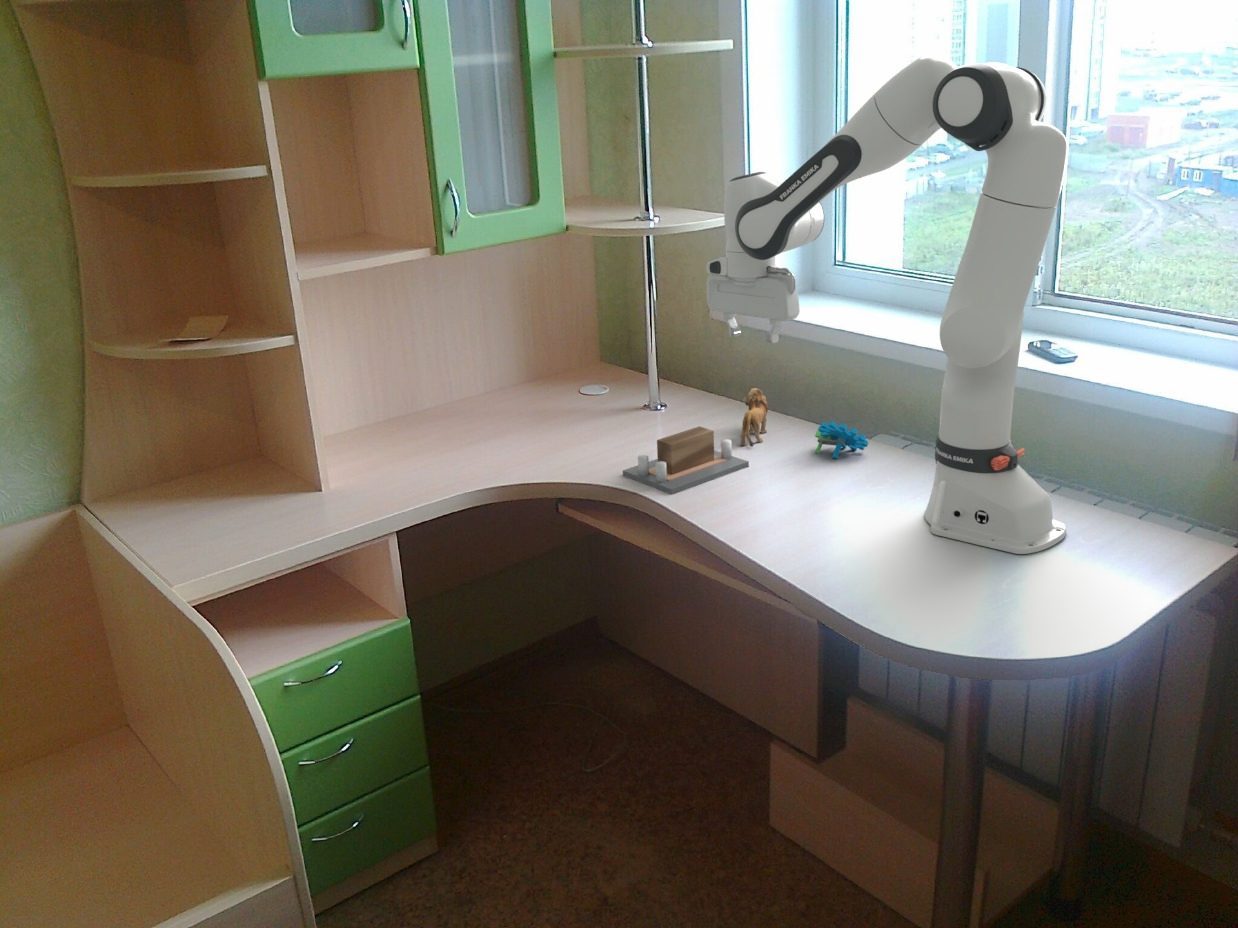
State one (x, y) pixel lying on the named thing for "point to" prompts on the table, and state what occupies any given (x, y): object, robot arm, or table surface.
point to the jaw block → (686, 449)
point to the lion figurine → (754, 415)
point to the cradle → (660, 479)
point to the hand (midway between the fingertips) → (753, 339)
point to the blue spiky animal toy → (839, 437)
